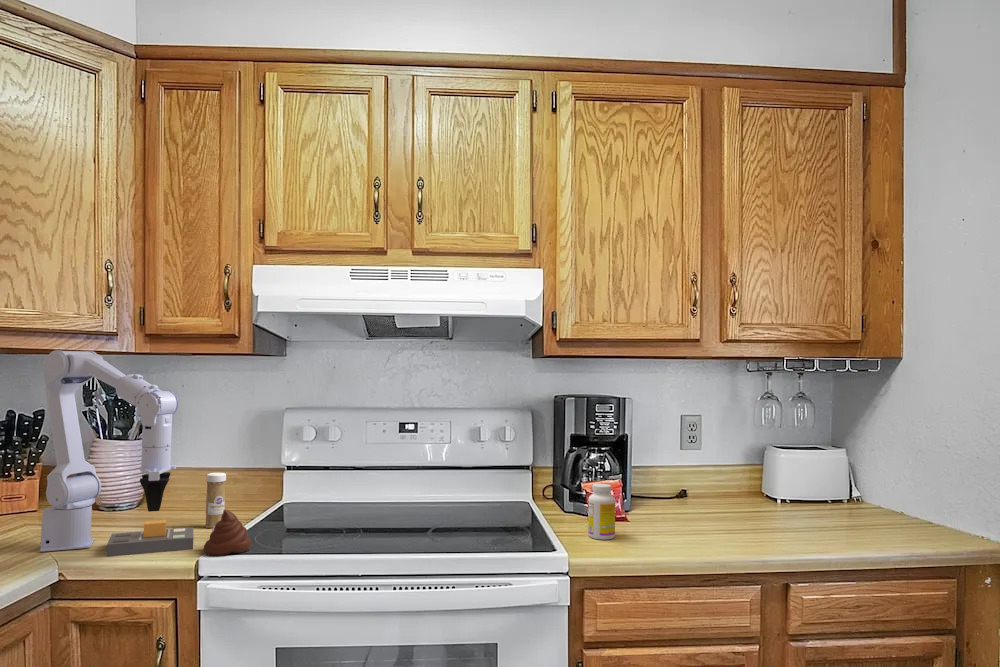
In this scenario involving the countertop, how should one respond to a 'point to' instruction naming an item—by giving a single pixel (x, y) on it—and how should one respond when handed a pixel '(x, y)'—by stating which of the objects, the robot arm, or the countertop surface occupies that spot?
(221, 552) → the poop emoji
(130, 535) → the grey block
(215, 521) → the sprinkles bottle
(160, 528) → the block
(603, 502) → the supplement bottle
